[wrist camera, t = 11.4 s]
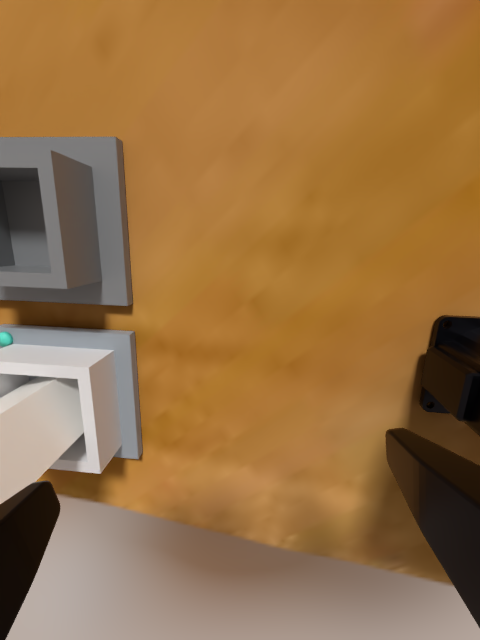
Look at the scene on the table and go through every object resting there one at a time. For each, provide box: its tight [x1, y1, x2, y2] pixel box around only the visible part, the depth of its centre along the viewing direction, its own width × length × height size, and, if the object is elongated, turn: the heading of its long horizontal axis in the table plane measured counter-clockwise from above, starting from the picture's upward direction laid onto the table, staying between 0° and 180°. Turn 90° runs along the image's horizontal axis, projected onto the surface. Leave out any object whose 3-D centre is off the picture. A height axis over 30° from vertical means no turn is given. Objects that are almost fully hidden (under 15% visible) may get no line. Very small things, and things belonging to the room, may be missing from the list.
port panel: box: [0, 324, 143, 474], centre depth 21 cm, size 10×10×4 cm
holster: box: [0, 137, 133, 306], centre depth 18 cm, size 10×10×4 cm
